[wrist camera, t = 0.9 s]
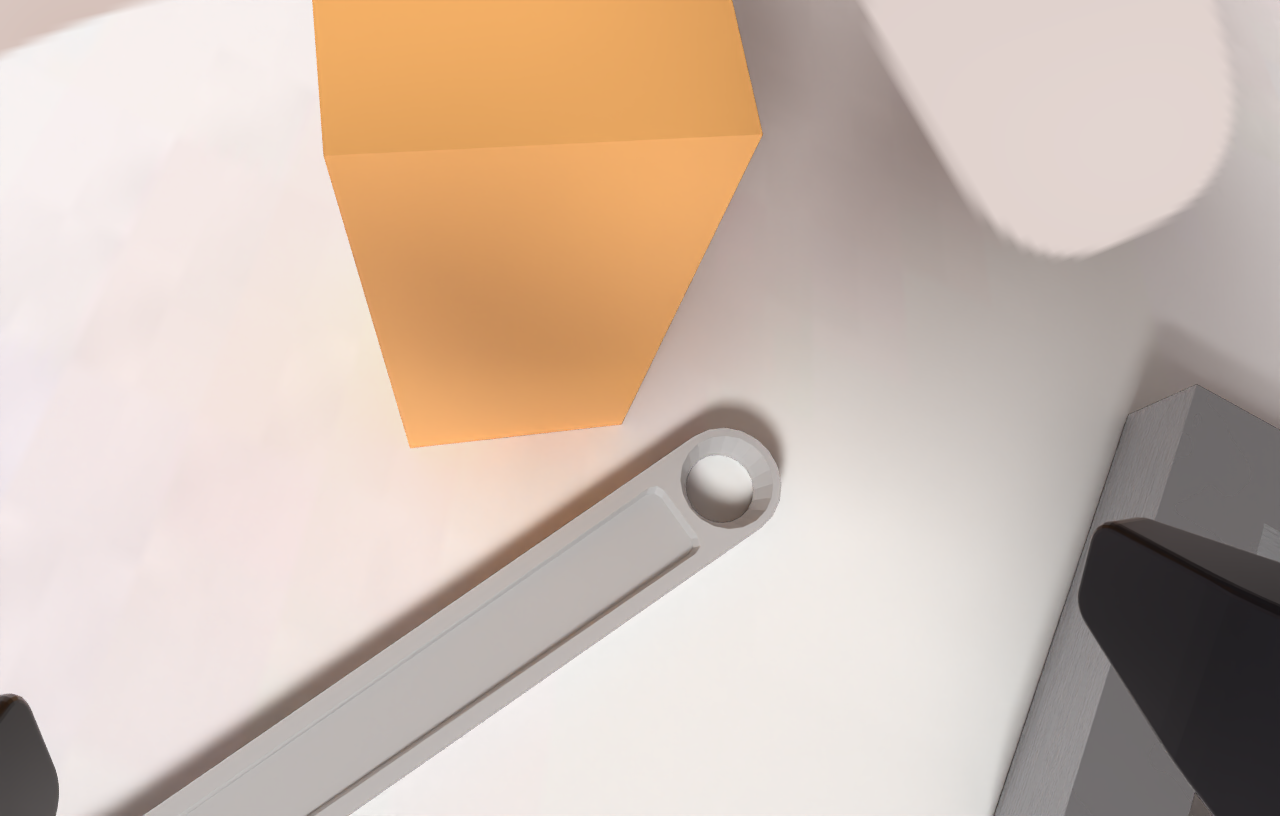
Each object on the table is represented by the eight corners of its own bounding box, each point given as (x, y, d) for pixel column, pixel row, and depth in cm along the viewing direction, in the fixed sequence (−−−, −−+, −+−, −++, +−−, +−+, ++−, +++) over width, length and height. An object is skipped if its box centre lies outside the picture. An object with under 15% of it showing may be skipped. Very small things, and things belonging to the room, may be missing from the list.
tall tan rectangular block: (621, 424, 22) (762, 134, 11) (409, 448, 21) (323, 154, 10) (591, 239, 24) (689, -188, 12) (391, 253, 23) (298, -197, 11)
